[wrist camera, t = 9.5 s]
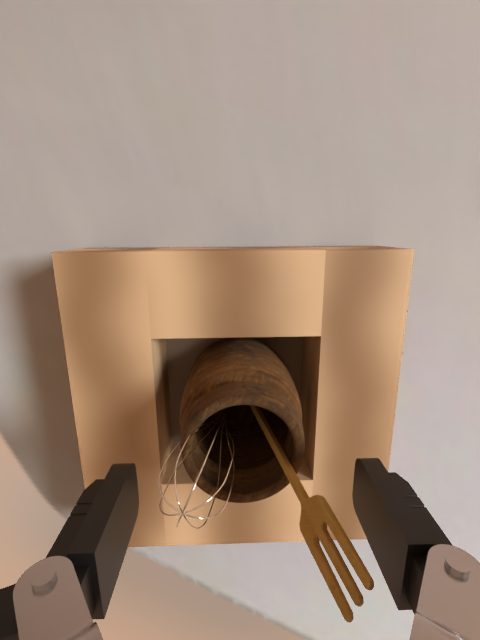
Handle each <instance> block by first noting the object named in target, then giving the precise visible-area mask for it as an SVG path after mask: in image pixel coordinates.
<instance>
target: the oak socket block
mask: <svg viewBox="0 0 480 640" xmlns="http://www.w3.org/2000/svg"><path fill="white" fill-rule="evenodd" d="M51 254H52V261H53V269H54V276H55V283H56V290H57V297H58V304H59V311H60V318H61V325H62V332H63V339H64V346H65V353H66V360H67V367H68V375H69V382H70V389H71V396H72V403H73V410H74V417H75V424H76V431H77V438H78V445H79V452H80V459H81V466H82V474H83V481H84V488H85V489H86V488H87V487H88V486H89V485H90V484H91V483H93V482H94V481H95V480H96V479H105V477H106V475H107V473H108V471H109V469H110V467H111V465H112V464H117V463H135V465H136V472H137V482H138V492H139V510H138V516H137V520H136V523H135V526H134V529H133V532H132V535H131V538H130V541H129V544H128V547H144V546H174V545H203V544H232V543H261V542H291V541H305V539H304V537H303V535H302V533H301V531H300V526H299V524H300V515H301V504H300V501H299V500H298V498H297V496H296V494H295V492H294V490H293V488H292V486H291V484H290V483H289V484H288V485H287V486H286V487H285V488H284V489H282V490H281V491H280V492H278V493H276V494H275V495H273V496H271V497H269V498H266V499H263V500H260V501H256V502H250V503H233V502H227V504H226V507H225V508H224V510H223V511H222V512H221V513H220V514H218V515H217V516H215V517H213V518H209V519H208V520H207V522H206V524H205V525H204V526H203V527H202V528H201V529H193V528H192V527H191V526H189V524H188V523H187V522H186V520H185V518H184V517H183V516H182V518H181V521H180V523H179V525H178V527H176V525H177V523H178V520H179V518H180V516H181V515H177V516H167V515H164V514H163V513H162V512H161V511H160V507H159V504H160V499H161V497H162V495H161V493H160V490H159V485H158V479H159V475H160V472H161V470H162V468H163V466H164V464H165V462H166V460H167V459H168V457H169V455H170V454H171V452H172V451H173V449H174V448H175V447H176V446H177V445H178V444H179V443H180V442H181V441H180V439H181V429H180V406H181V400H182V396H183V392H184V388H185V385H186V381H187V378H188V375H189V372H190V369H191V367H192V365H193V363H194V361H195V360H196V358H197V357H198V356H199V354H200V353H201V352H202V351H203V350H204V349H205V348H206V347H208V346H209V345H211V344H212V343H214V342H216V341H218V340H220V339H223V338H238V337H251V338H255V339H258V340H260V341H262V342H264V343H266V344H267V345H269V346H270V347H271V348H273V349H274V350H275V351H276V352H277V353H278V355H279V356H280V357H281V358H282V360H283V362H284V363H285V365H286V367H287V369H288V371H289V373H290V375H291V378H292V380H293V382H294V385H295V387H296V390H297V393H298V396H299V399H300V403H301V408H302V425H303V430H304V440H305V451H304V458H303V461H302V464H301V467H300V469H299V471H298V473H297V476H298V478H299V480H300V482H301V483H302V485H303V487H304V489H305V491H306V492H307V494H308V496H309V498H310V497H312V496H314V495H321V496H323V497H325V499H326V501H327V502H328V504H329V505H330V507H331V509H332V511H333V512H334V514H335V516H336V517H337V519H338V521H339V523H340V524H341V526H342V528H343V529H344V531H345V533H346V535H347V536H348V538H349V539H367V538H366V535H365V533H364V531H363V529H362V526H361V524H360V522H359V519H358V517H357V515H356V512H355V509H354V505H353V499H352V491H353V480H354V469H355V461H356V459H357V458H379V459H380V460H381V462H382V463H383V465H384V467H385V468H386V470H387V471H388V468H389V459H390V451H391V442H392V434H393V426H394V417H395V409H396V400H397V392H398V383H399V375H400V367H401V358H402V350H403V341H404V333H405V325H406V316H407V308H408V299H409V291H410V282H411V274H412V266H413V257H414V249H406V248H395V247H384V246H293V247H163V248H84V249H75V250H66V251H58V252H51ZM180 452H181V444H179V445H178V446H177V447H176V449H175V450H174V451H173V453H172V454H171V456H170V458H169V459H168V461H167V463H166V465H165V467H164V469H163V471H162V474H161V476H160V488H161V491H162V494H163V492H164V490H165V488H166V486H167V484H168V482H169V480H170V478H171V477H172V475H173V473H174V472H175V466H176V462H177V459H178V456H179V454H180ZM181 462H182V455H180V458H179V460H178V464H177V467H178V466H179V464H180V463H181ZM174 475H175V474H174ZM193 485H194V482H193V481H192V480H191V478H190V477H189V475H188V473H187V471H186V469H185V467H184V464H183V462H182V464H181V465H180V466H179V468H178V469H177V471H176V488H177V494H178V499H179V502H180V505H181V508H182V510H183V508H184V506H185V504H186V501H187V499H188V497H189V494H190V492H191V489H192V487H193ZM164 497H165V499H166V500H167V501H168V502H169V503H170V504H171V505H172V506H173V507H175V508H176V509H178V510H179V511H181V510H180V508H179V505H178V501H177V498H176V493H175V483H174V476H173V478H172V479H171V481H170V483H169V485H168V487H167V489H166V491H165V493H164ZM211 497H212V496H210V495H209V494H207V493H205V492H204V491H203V490H201V489H200V488H199V487H198V486H197V485H196V486H195V488H194V491H193V493H192V495H191V498H190V500H189V502H188V505H187V507H186V509H185V511H184V512H186V511H189V510H191V509H194V508H196V507H198V506H199V505H201V504H203V503H204V502H206V501H207V500H208V499H209V498H211ZM213 499H214V497H213V498H212V499H211V500H210V501H208V502H207V503H206V504H204V505H203V506H201V507H199V508H197V509H195V510H193V511H191V512H188V513H186V514H188V515H191V516H194V517H202V518H203V517H207V516H208V514H209V511H210V508H211V505H212V502H213ZM225 503H226V501H223V500H220V499H217V498H215V501H214V504H213V507H212V509H211V512H210V515H209V517H210V516H213V515H215V514H217V513H218V512H220V511H221V510H222V509H223V507H224V505H225ZM161 509H162V511H163V512H164V513H166V514H178V513H179V512H177V511H176V510H174V509H173V508H172V507H170V506H169V505H168V504H167V503H166V502H165V500H164V499H163V498H162V501H161ZM185 517H186V519H187V520H188V522H189V523H190V524H191V525H192V526H194V527H196V528H198V527H201V526H202V525H203V524H204V523H205V521H206V519H195V518H191V517H188V516H186V515H185ZM327 530H328V532H329V534H330V536H331V538H332V540H336V538H335V536H334V535H333V533H332V531H331V530H330V528H329V526H328V525H327ZM319 541H320V539H319Z"/></svg>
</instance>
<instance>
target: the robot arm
mask: <svg viewBox="0 0 480 640" xmlns="http://www.w3.org/2000/svg"><path fill="white" fill-rule="evenodd" d="M352 499H353V505H354V509H355V512H356V515H357V517H358V519H359V522H360V524H361V526H362V529H363V531H364V533H365V535H366V538H367V540H368V542H369V544H370V547H371V549H372V551H373V553H374V556H375V558H376V560H377V562H378V565H379V567H380V569H381V572H382V574H383V576H384V578H385V581H386V583H387V585H388V587H389V590H390V592H391V594H392V596H393V599H394V601H395V603H396V606H397V608H398V610H413V612H414V615H415V616H414V621H413V626H412V630H411V635H410V640H480V563H479V562H478V561H477V560H476V559H475V558H474V557H473V556H471V555H470V554H469V553H467V552H466V551H464V550H462V549H460V548H458V547H455V546H453V545H452V544H451V543H450V541H449V540H448V538H447V537H446V536H445V534H444V533H443V531H442V530H441V528H440V527H439V526H438V524H437V523H436V521H435V520H434V518H433V517H432V516H431V514H430V513H429V511H428V510H427V508H425V507H424V504H423V503H422V501H421V500H420V499H419V497H417V494H416V493H415V491H414V490H413V489H412V487H411V486H410V484H409V483H408V482H407V481H406V480H404V479H403V478H402V477H400V476H399V475H398V474H397V473H388V471H387V470H386V468H385V467H384V465H383V463H382V462H381V460H380V459H379V458H357V459H356V461H355V469H354V480H353V491H352ZM138 510H139V492H138V482H137V472H136V465H135V463H117V464H112V465H111V467H110V469H109V471H108V473H107V475H106V477H105V479H96V480H95V481H94V482H93V483H91V484H90V485H89V486H88V487H87V488H86V489H85V490H84V491H83V493H82V495H81V496H80V498H79V500H78V502H77V505H76V506H75V507H74V509H73V511H72V512H71V516H70V517H69V518H68V519H67V521H66V523H65V525H64V527H63V529H62V530H61V532H60V534H59V535H58V537H57V539H56V541H55V543H54V544H53V546H52V548H51V550H50V551H49V553H48V555H47V557H46V558H45V559H43V560H40V561H39V562H37V563H35V564H34V565H32V566H31V567H30V568H29V569H27V570H26V571H25V572H24V573H23V574H22V575H21V577H20V578H19V579H18V581H17V583H16V584H14V585H11V586H9V587H6V588H3V589H0V640H103V638H102V636H101V633H100V630H99V627H98V625H97V623H96V622H95V623H93V620H92V619H104V618H105V615H106V612H107V609H108V605H109V602H110V599H111V596H112V593H113V590H114V587H115V584H116V581H117V578H118V575H119V571H120V569H121V566H122V563H123V560H124V556H125V553H126V550H127V547H128V544H129V541H130V538H131V535H132V532H133V529H134V526H135V523H136V520H137V516H138Z"/></svg>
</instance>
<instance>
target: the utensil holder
mask: <svg viewBox="0 0 480 640" xmlns="http://www.w3.org/2000/svg"><path fill="white" fill-rule="evenodd" d="M180 429H181V439H180V441H181V442H180V443H179V444H181V452H180V454H179V456H178V459H177V462H176V466H175V472H174V473H173V475H172V477H171V478H170V480H169V482H168V484H167V486H166V488H165V490H164V492H163V494H162V491H161V488H160V476H161V474H162V471H163V469H164V467H165V465H166V463H167V461H168V459H169V458H170V456H171V454H172V453H173V451H174V450H175V449H176V447H177V446H178V445H179V444H178V445H177V446H176V447H175V448H174V449H173V451H172V452H171V454H170V455H169V457H168V459H167V460H166V462H165V464H164V466H163V468H162V470H161V472H160V475H159V479H158V485H159V490H160V493H161V495H162V497H161V499H160V504H159V507H160V511H161V512H162V513H163V514H164V515H167V516H177V515H181V516H180V518H179V520H178V523H177V525H176V527H178V525H179V523H180V521H181V518H182V516H183V517H184V518H185V520H186V522H187V523H188V524H189V526H191V527H192V528H193V529H201V528H202V527H203V526H204V525H205V524H206V522H207V520H208V519H209V518H213V517H215V516H217V515H218V514H220V513H221V512H222V511H223V510H224V508H225V507H226V504H227V502H233V503H250V502H256V501H260V500H263V499H266V498H269V497H271V496H273V495H275V494H276V493H278V492H280V491H281V490H282V489H284V488H285V487H286V486H287V485H288V484H289V483H290V484H291V486H292V488H293V490H294V492H295V494H296V496H297V498H298V500H299V501H300V504H301V515H300V524H299V526H300V531H301V533H302V535H303V537H304V539H305V541H306V543H307V545H308V547H309V549H310V551H311V553H312V555H313V557H314V559H315V561H316V563H317V565H318V567H319V569H320V571H321V573H322V575H323V577H324V579H325V581H326V583H327V585H328V587H329V589H330V591H331V593H332V595H333V597H334V599H335V601H336V603H337V605H338V607H339V609H340V611H341V613H342V615H343V617H344V619H345V620H346V621H347V622H352V620H353V612H352V610H351V608H350V606H349V604H348V602H347V600H346V598H345V596H344V594H343V592H342V590H341V587H340V585H339V583H338V581H337V579H336V577H335V575H334V573H333V571H332V569H331V567H330V565H329V563H328V561H327V559H326V557H325V555H324V553H323V551H322V548H321V546H320V544H319V539H320V541H321V543H322V545H323V547H324V548H325V550H326V552H327V554H328V556H329V558H330V559H331V561H332V563H333V565H334V567H335V568H336V570H337V572H338V574H339V576H340V578H341V579H342V581H343V583H344V585H345V587H346V589H347V590H348V592H349V594H350V596H351V598H352V600H353V601H354V603H355V605H357V606H362V604H363V596H362V594H361V592H360V591H359V589H358V587H357V585H356V583H355V581H354V579H353V577H352V576H351V574H350V572H349V570H348V568H347V566H346V564H345V562H344V560H343V559H342V557H341V555H340V553H339V551H338V549H337V547H336V545H335V544H334V542H333V540H332V538H331V536H330V534H329V532H328V530H327V525H328V526H329V528H330V530H331V531H332V533H333V535H334V536H335V538H336V540H337V541H338V543H339V545H340V546H341V548H342V550H343V551H344V553H345V555H346V556H347V558H348V560H349V562H350V563H351V565H352V567H353V568H354V570H355V572H356V573H357V575H358V577H359V578H360V580H361V582H362V583H363V585H364V587H365V588H366V589H368V590H372V589H373V587H374V582H373V579H372V578H371V576H370V574H369V572H368V571H367V569H366V567H365V566H364V564H363V562H362V560H361V559H360V557H359V555H358V554H357V552H356V550H355V548H354V547H353V545H352V543H351V541H350V540H349V538H348V536H347V535H346V533H345V531H344V529H343V528H342V526H341V524H340V523H339V521H338V519H337V517H336V516H335V514H334V512H333V511H332V509H331V507H330V505H329V504H328V502H327V501H326V499H325V497H323V496H321V495H314V496H312V497H310V498H309V496H308V494H307V492H306V491H305V489H304V487H303V485H302V483H301V482H300V480H299V478H298V476H297V473H298V471H299V469H300V467H301V464H302V461H303V458H304V451H305V440H304V430H303V425H302V408H301V403H300V399H299V396H298V393H297V390H296V387H295V385H294V382H293V380H292V378H291V375H290V373H289V371H288V369H287V367H286V365H285V363H284V362H283V360H282V358H281V357H280V356H279V355H278V353H277V352H276V351H275V350H274V349H273V348H271V347H270V346H269V345H267V344H266V343H264V342H262V341H260V340H258V339H255V338H251V337H238V338H223V339H220V340H218V341H216V342H214V343H212V344H211V345H209V346H208V347H206V348H205V349H204V350H203V351H202V352H201V353H200V354H199V356H198V357H197V358H196V360H195V361H194V363H193V365H192V367H191V369H190V372H189V375H188V378H187V381H186V385H185V388H184V392H183V396H182V400H181V406H180ZM180 455H182V462H183V464H184V467H185V469H186V471H187V473H188V475H189V477H190V478H191V480H192V481H193V482H194V485H193V487H192V489H191V492H190V494H189V497H188V499H187V501H186V504H185V506H184V508H183V510H182V508H181V505H180V502H179V499H178V494H177V488H176V471H177V469H178V468H179V466H180V465H181V464H182V462H181V463H180V464H179V466H178V467H177V464H178V460H179V458H180ZM174 474H175V475H174ZM173 476H174V483H175V493H176V498H177V501H178V505H179V508H180V510H181V511H179V510H178V509H176V508H175V507H173V506H172V505H171V504H170V503H169V502H168V501H167V500H166V499H165V497H164V493H165V491H166V489H167V487H168V485H169V483H170V481H171V479H172V478H173ZM196 485H197V486H198V487H199V488H200V489H201V490H203V491H204V492H205V493H207V494H209V495H210V496H212V497H211V498H209V499H208V500H207V501H206V502H204V503H203V504H201V505H199V506H198V507H196V508H194V509H191V510H189V511H186V512H184V511H185V509H186V507H187V505H188V502H189V500H190V498H191V495H192V493H193V491H194V488H195V486H196ZM213 497H214V499H213V502H212V505H211V508H210V511H209V514H208V516H207V517H203V518H202V517H194V516H191V515H188V514H186V513H188V512H191V511H193V510H195V509H197V508H199V507H201V506H203V505H204V504H206V503H207V502H208V501H210V500H211V499H212V498H213ZM162 498H163V499H164V500H165V502H166V503H167V504H168V505H169V506H170V507H172V508H173V509H174V510H176V511H177V512H179V513H178V514H166V513H164V512H163V511H162V509H161V501H162ZM215 498H217V499H220V500H223V501H226V503H225V505H224V507H223V509H222V510H221V511H220V512H218V513H217V514H215V515H213V516H210V517H209V515H210V512H211V509H212V507H213V504H214V501H215ZM185 515H186V516H188V517H191V518H195V519H206V521H205V523H204V524H203V525H202V526H201V527H198V528H196V527H194V526H192V525H191V524H190V523H189V522H188V520H187V519H186V517H185Z"/></svg>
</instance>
